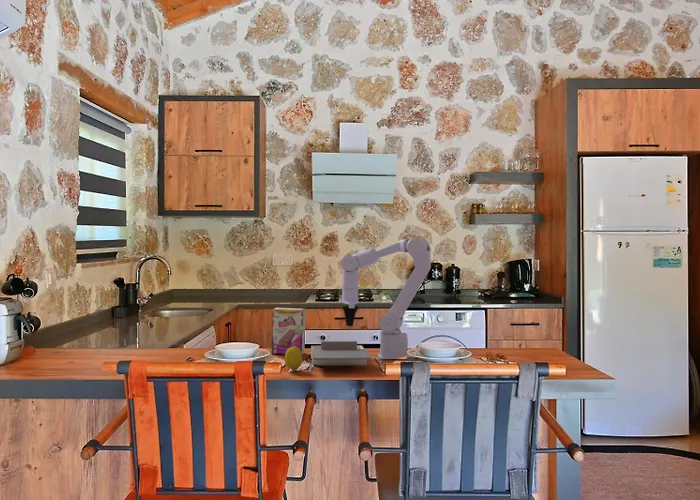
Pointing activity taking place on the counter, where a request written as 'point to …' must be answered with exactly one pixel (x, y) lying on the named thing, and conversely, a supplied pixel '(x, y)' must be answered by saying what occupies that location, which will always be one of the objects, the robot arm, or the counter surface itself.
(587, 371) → the counter surface
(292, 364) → the lemon
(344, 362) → the mailer box
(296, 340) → the candy bar box
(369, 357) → the lid
